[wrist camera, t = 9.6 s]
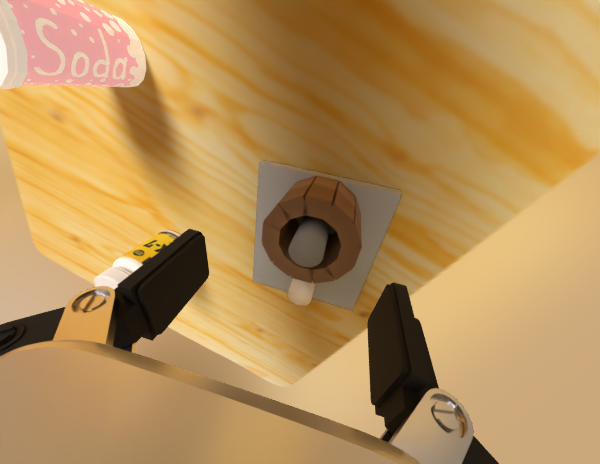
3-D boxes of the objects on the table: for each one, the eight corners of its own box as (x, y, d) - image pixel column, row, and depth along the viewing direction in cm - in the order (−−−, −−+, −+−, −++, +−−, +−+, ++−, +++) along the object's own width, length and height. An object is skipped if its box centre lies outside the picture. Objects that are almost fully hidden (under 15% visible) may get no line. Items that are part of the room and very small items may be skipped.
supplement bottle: (199, 246, 27) (141, 296, 20) (185, 266, 29) (129, 317, 22) (166, 221, 26) (93, 264, 19) (155, 244, 28) (86, 289, 21)
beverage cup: (136, 113, 20) (-184, 117, 8) (78, 50, 18) (-422, -57, 7) (167, 57, 17) (-259, -61, 5) (101, -23, 16) (-712, -444, 4)
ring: (287, 168, 18) (265, 186, 14) (370, 187, 17) (374, 212, 13) (278, 237, 22) (259, 268, 17) (347, 255, 21) (344, 292, 17)
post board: (264, 160, 19) (221, 182, 13) (399, 189, 18) (421, 230, 12) (256, 274, 27) (226, 323, 21) (352, 302, 25) (351, 363, 19)
